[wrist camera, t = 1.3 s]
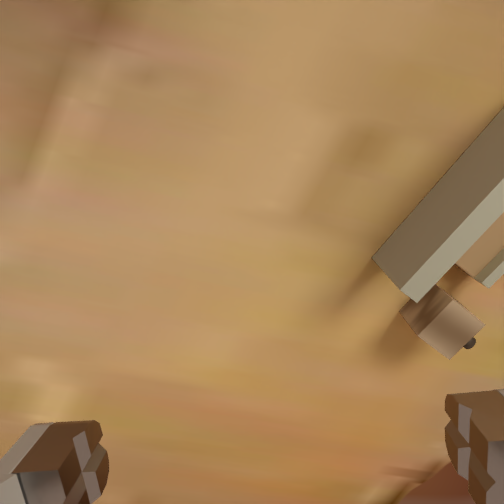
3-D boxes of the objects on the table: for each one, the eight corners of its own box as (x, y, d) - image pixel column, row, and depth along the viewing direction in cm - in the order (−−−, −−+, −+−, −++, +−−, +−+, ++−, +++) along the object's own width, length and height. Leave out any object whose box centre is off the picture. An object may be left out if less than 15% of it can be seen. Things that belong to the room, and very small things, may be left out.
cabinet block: (429, 279, 44) (453, 299, 38) (464, 306, 45) (493, 330, 39) (398, 311, 45) (417, 336, 39) (433, 337, 46) (456, 365, 40)
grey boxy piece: (521, 87, 38) (605, 67, 28) (592, 149, 39) (696, 151, 30) (371, 257, 43) (399, 289, 34) (437, 308, 45) (483, 353, 35)
